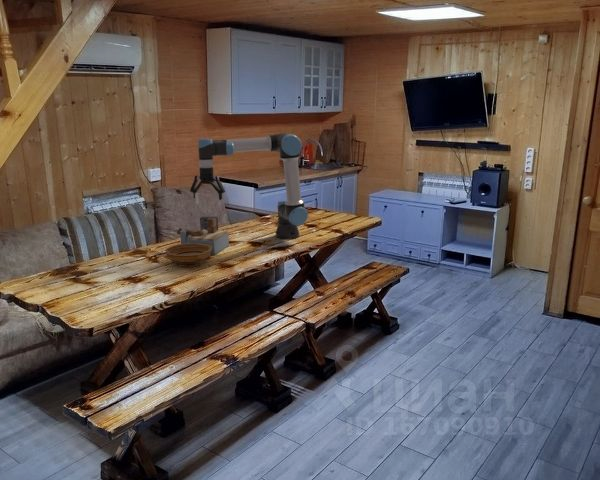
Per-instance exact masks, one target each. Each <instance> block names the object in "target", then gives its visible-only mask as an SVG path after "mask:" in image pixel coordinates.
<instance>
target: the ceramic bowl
mask: <svg viewBox="0 0 600 480" xmlns="http://www.w3.org/2000/svg"><path fill="white" fill-rule="evenodd" d="M212 248H213V247H212V246H211V245H206V244H199V243H187V244H181V243H180V244H175V245H172V246H169V247H167V248H165V251H164V252H165V254H166V255H163V259H166V260H169V261H171V262H173V263H175V264H178V265H179V266H181V267H194V266H198V265H200V264H201V262H203V261H206V260H207V259H208V258H210V256H211V255H210V253H211V250H212Z"/></svg>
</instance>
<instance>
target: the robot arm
mask: <svg viewBox="0 0 600 480" xmlns="http://www.w3.org/2000/svg"><path fill="white" fill-rule="evenodd" d="M197 141H198V142H197V144H198V145H197V146H198V147H197V148H198V163H199V165H198V166H199V174H196V175H195V176H194V180H193V182H192V184H191V187H190V189H189V192H191V193H192V194H193V199H194V201H195V205H196V206H197V205H199V204H200V200H199V192H198V191H199V190H200V188H201V187H202V185H211V186H212V187H213V189H214V190H215V191H216V193H217V194H216V198H217V199H216V200H217V207H220V206H221V205H222V200H223V193H224V194H225V193H226V191H225V188H224V186H223V184H222V182H221V181H220V176H219V175H216V176H215V175H214V157H217V156H222V157H223V156H232V155H234V153H241V152H242V153H243V152H244V153H245V152H255V151H256V152H257V151H258V152H259V151H267V152H270V153H271V152H274V153H275V152H276V153H279V159H280V160H281V161H282V163H283V173H284V183H285V192H286V199H284V200H279V201H278V202H277V226H276V230H275V238H278V239H284V240H286V239H287V240H289V238H292V239H297V238H299V237H300V230H299V227H298V226H302V225H303V224H305V223H306V221H307V220H308V217H309V213H308V211H307V209H306V208H305V201H304V200H303V199H302V195H301V194H302V193H301V183H300V182H301V181H300V172H299V162H298V161H299V158H300V157H301V154H300V152H301V151H302V148H303V143H302V141H301V139H300V138H299V137H298V136H297V135H295V134H293V133H285V132H284V133H283V132H282V133H277V134H269V135H266V136H265V137H249V138H233V139H212V138H199V139H198V140H197ZM199 179H200V181H199ZM198 181H199V182H198ZM197 183H198V184H197Z"/></svg>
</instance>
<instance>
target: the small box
mask: <svg viewBox="0 0 600 480" xmlns="http://www.w3.org/2000/svg"><path fill="white" fill-rule="evenodd" d="M209 218H216V227H217V231H219V222H218V219H219V218H218V216H201V217H200V218H199V224H200V225H199V227H200V231H202V230H207V219H209Z"/></svg>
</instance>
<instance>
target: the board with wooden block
mask: <svg viewBox="0 0 600 480" xmlns="http://www.w3.org/2000/svg"><path fill="white" fill-rule="evenodd" d="M202 231H203V235H201V236H198V235H191V237H189V240H203V241H215V240H217V239H218V238H220V237H222V236H223V235H225V234H227V233H228V230H218V231H217V227H216V218H209V219H207V230H202Z"/></svg>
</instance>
